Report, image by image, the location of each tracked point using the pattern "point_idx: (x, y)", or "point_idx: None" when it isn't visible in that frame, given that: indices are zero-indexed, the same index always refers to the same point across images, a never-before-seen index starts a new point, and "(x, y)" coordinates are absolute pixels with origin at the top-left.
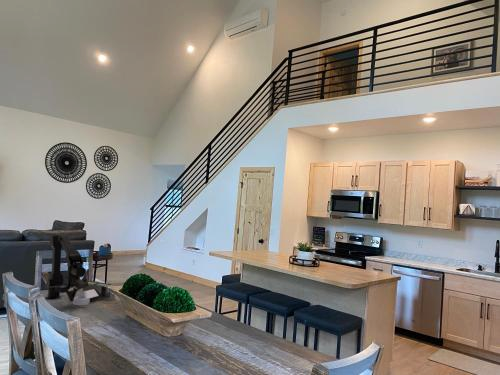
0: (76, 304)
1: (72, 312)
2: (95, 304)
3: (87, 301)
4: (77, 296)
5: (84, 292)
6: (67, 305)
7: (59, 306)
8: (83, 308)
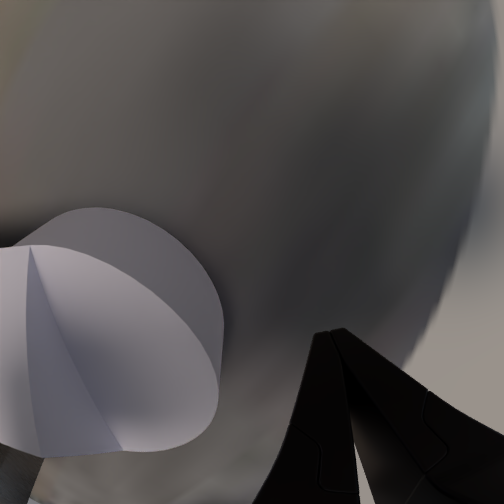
0: (214, 297)
1: (468, 28)
2: (10, 104)
3: (47, 226)
4: (119, 445)
5: (6, 423)
6: (302, 363)
7: None
8: (252, 28)
